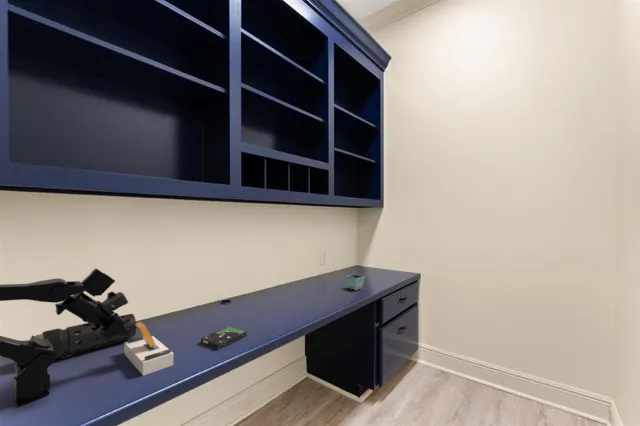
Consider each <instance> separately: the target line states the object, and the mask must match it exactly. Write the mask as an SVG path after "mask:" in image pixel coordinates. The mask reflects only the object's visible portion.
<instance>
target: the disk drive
mask: <svg viewBox="0 0 640 426" xmlns="http://www.w3.org/2000/svg"><path fill="white" fill-rule="evenodd" d="M246 336H247V337H248V331H247V330H244V329H241V328H236V327H233V326H227V327H224V328H223V329H219V330H217V331H214V332H212V333H209V334H207V335H205V336H203V337H201V338H200V344H201V345H204V346H206V347H209V348H211V349H214V350H217V351H220V350H222V349H224V348H226V347H227V346H228V347H229V346H231V345H232V344H234V343H236V342H238V341H240V339H241V340H242V338H243V339H245V338H246ZM244 337H245V338H244ZM223 347H224V348H223ZM221 348H222V349H221ZM219 349H220V350H219Z"/></svg>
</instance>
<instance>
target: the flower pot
mask: <svg viewBox="0 0 640 426" xmlns="http://www.w3.org/2000/svg"><path fill="white" fill-rule="evenodd" d="M364 282H365V276H364V275H359V274H350V275H346V283H347V286H348V288H349V289H350V290H352V289H353V290H352V291H355V290H356V291H359V289H360V290H361V289H362V288H363V286H364Z"/></svg>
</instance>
